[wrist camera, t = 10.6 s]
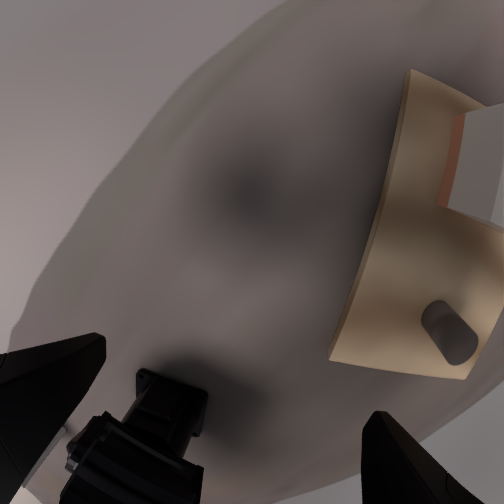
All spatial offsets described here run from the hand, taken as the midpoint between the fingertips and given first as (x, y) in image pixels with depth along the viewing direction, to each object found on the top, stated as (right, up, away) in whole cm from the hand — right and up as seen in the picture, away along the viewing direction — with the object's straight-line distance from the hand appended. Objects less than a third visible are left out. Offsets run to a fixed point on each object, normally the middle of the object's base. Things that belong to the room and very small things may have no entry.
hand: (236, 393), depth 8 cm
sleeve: (+15, +9, +6) cm, 19 cm away
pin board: (+14, +5, +9) cm, 18 cm away
